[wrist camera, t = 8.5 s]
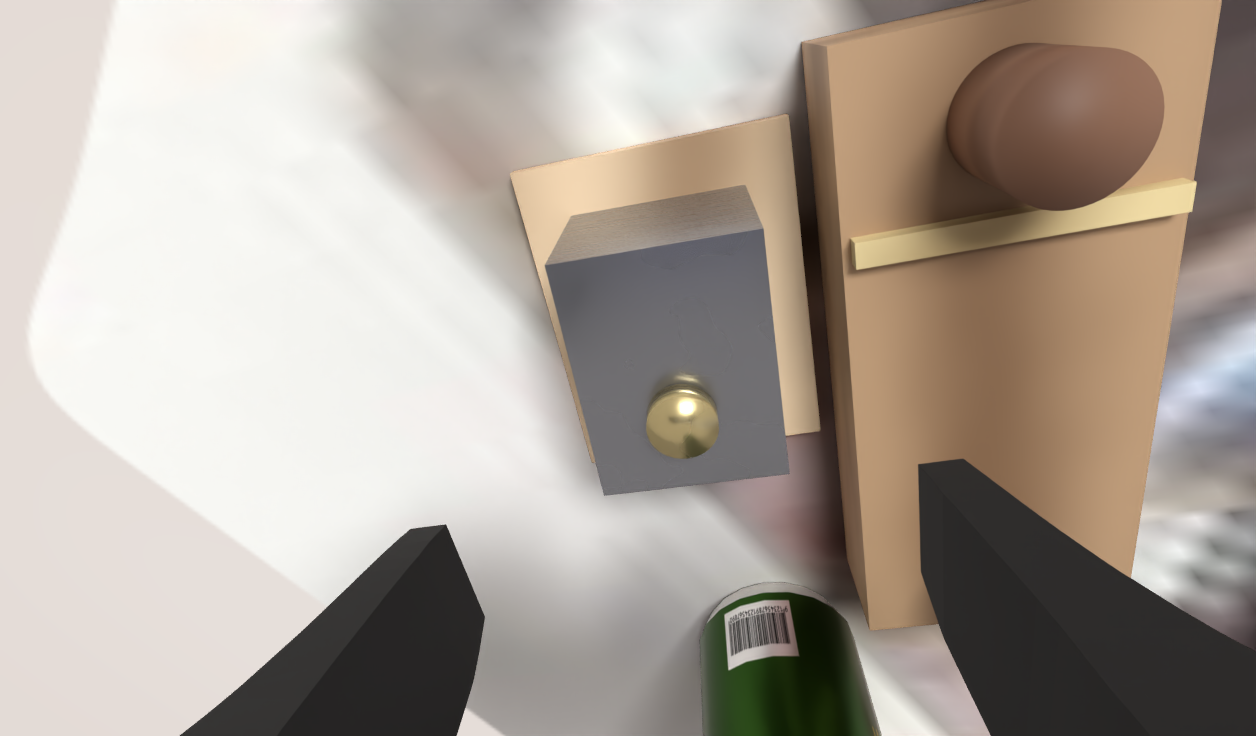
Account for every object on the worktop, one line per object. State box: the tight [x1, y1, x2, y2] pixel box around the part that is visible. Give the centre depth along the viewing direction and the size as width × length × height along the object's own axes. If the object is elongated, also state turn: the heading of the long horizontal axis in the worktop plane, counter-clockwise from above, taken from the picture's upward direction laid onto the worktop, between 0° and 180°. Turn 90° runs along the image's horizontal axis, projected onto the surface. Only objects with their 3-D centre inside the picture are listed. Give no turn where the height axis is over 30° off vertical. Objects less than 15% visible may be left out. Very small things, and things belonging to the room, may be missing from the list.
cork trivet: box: [510, 114, 820, 463], centre depth 19 cm, size 7×9×1 cm
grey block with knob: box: [545, 185, 790, 496], centre depth 16 cm, size 4×6×5 cm
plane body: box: [801, 0, 1222, 630], centre depth 16 cm, size 7×16×5 cm, turn 12°
